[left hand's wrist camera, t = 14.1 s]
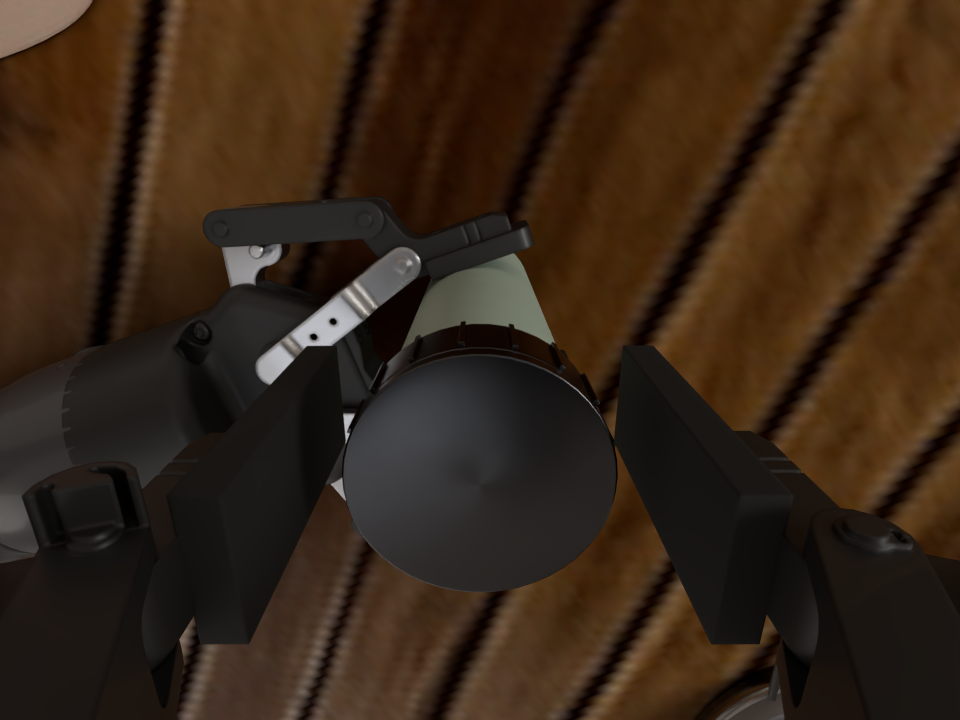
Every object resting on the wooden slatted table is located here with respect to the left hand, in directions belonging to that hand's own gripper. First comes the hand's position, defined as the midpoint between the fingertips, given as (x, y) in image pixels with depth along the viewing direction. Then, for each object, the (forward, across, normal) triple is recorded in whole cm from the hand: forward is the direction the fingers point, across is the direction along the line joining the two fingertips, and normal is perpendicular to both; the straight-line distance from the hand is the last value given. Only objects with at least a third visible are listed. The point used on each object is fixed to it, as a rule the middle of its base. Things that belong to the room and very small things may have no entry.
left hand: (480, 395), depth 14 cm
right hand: (+7, -2, -1) cm, 7 cm away
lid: (-4, 0, 0) cm, 4 cm away
